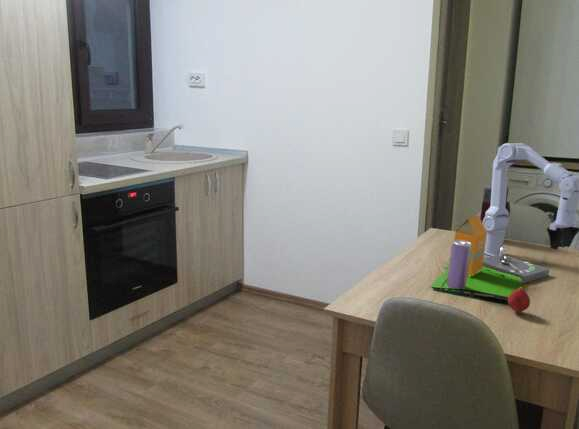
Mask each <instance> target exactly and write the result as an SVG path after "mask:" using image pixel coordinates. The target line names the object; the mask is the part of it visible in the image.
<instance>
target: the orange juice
mask: <svg viewBox="0 0 579 429" xmlns="http://www.w3.org/2000/svg"><path fill="white" fill-rule="evenodd" d="M486 237H487V232H486V230H485V228H484V226H483V223H482V221H481V219H480V215H479V214H478V215H475V216H472V217H469V218H467V219H466V220H465V221H464V222H463V223H462V224H461V225H460V226H459V227H458V228H457V229H456V231H455V234H454V240H463V241H467V242H470V243H471V247H472V248H471V255H470V262H469V269H468V275H472V274H474V273H476V272H478V271H479V270H481V269H482V263H483V258H485V257H484V256H485V254H484V251H485V243H486ZM482 270H483V269H482ZM482 270H481V271H482Z"/></svg>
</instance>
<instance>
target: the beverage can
mask: <svg viewBox="0 0 579 429" xmlns="http://www.w3.org/2000/svg"><path fill="white" fill-rule="evenodd" d="M471 248H472V247H471V243H470V242H467V241H463V240H455V239H453V241H452V244H451V250H450V256H449V264H448V271H447V277H446V278H447V279H446V285H447V287H448V288H449V287H450V289H451V288H452V290H455V289H457V290H456V291H460V290H459V289H463V290H464V289H465V288H467V283H468V277H467V276H468V269H469V262H470V255H471Z"/></svg>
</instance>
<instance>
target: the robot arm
mask: <svg viewBox="0 0 579 429" xmlns="http://www.w3.org/2000/svg"><path fill="white" fill-rule="evenodd" d="M519 161H527V162H529V163H531V164H532V165H533V166H535V167H537V168H538V169H540V170H541V171H543V175H544V176H545V177H546V178H547V179H549V181H551V182H553V183H554V184H556V185H557V186H558V187H559V190H560V198H559V203H558V206H557V208H558V209H557V213H556V218H555V220H554V221H553V222H552V223H549V224H550V225H549V226H548V227H547V228H546V231H547V234H548V236H549V244H550V245H549V246H550V249H551V250H552V249H553V250H555V251H556V250H558V249H559V247H560V243H561V240H562V246H563V247H567V248H570V247H571V245H572V243H573V240H574V239H575V237H576V235H577V234H578V233H579V220H576V216H577V211H578V205H579V175H578V174H575V175H574V173H573V171H569V170H567V169H566V168H564V167H563V164H561V163H559V162H558V163H557V162H550V161H548V160H547V159H546V158H545V157H543V156H542V155H540V154H539V153H538V152H536V151H535V150H533V148H531V146H528V145H527V144H525V143H524V142H518V143H517V142H516V143H513V142H512V143H510V142H506V143H504V144H502V145H500V146H499V147H498V148H497V154H496V156H495V158H494V160H493V164H492V175H491V176H492V179H491V185H492V189H491V204H490V208H489V209H488V210H487V211H486V213H485V218H484V219H483V226H484V228H485V230H486V232H487V237H486V243H485V251H484V255H488V256H489V257H490V256H494V255H499V253H500V247H504V240H505V234H506V232H507V229H509V228H510V226H511V220H510V215H509V212H508V210H507V209H506V208H505V206H506V191H507V187H508V172H509V168H510V166H512V165H513V164H515V163H516V162H519ZM561 229H562V230H561ZM505 255H507V252H506V253H505Z"/></svg>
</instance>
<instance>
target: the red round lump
mask: <svg viewBox="0 0 579 429" xmlns="http://www.w3.org/2000/svg"><path fill="white" fill-rule="evenodd" d="M507 302H508V306H509V308H510V309H511V310H513V311H514V313H515V314H519V313H522V312H524V311H526V310H527V309H528V308H529V307H530V306H531V305H530V304H531V299H530V296H529V294H528V293H527V292H526V291H525V290H524V287H522V286H520V287H519V288H517V289H514V290H513V291H512V292H511V293H510V294H509V295H508V298H507Z"/></svg>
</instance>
